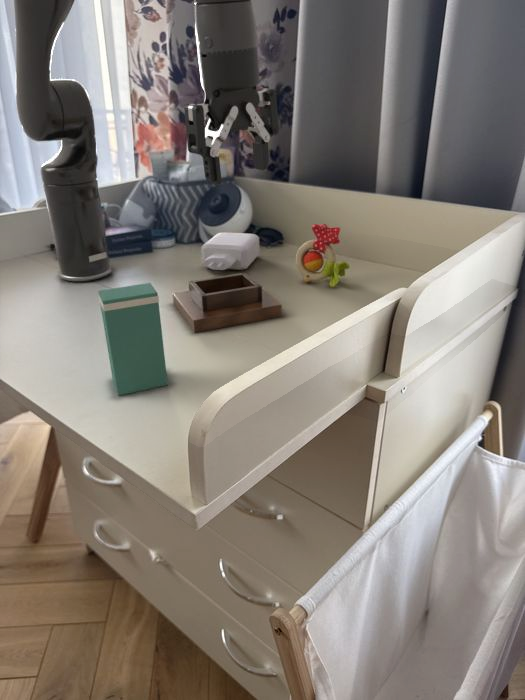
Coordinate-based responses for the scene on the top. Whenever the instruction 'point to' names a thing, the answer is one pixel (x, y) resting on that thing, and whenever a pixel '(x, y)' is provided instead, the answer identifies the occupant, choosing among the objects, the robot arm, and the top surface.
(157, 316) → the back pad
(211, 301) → the seat base
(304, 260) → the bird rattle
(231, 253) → the charger
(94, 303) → the top surface
